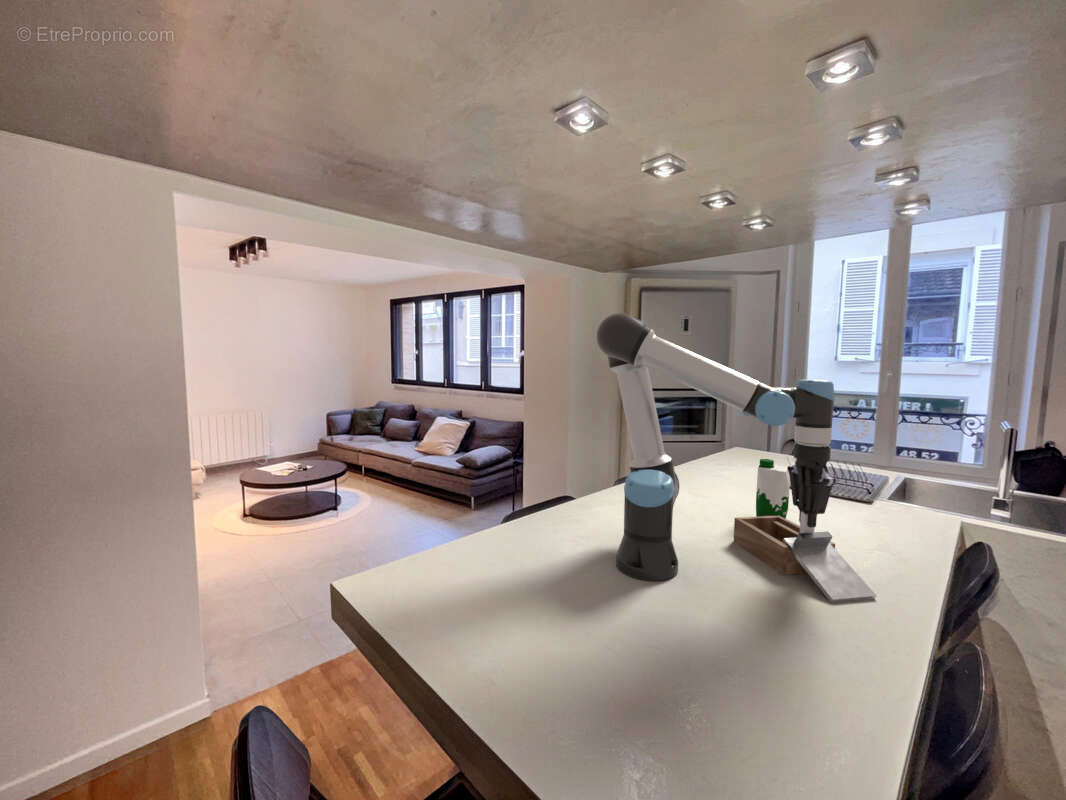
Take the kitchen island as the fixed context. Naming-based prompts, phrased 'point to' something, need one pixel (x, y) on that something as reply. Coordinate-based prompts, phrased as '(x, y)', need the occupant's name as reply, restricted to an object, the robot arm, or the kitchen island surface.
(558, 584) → the kitchen island surface
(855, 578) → the cover plate
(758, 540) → the box
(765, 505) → the milk carton
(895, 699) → the kitchen island surface
